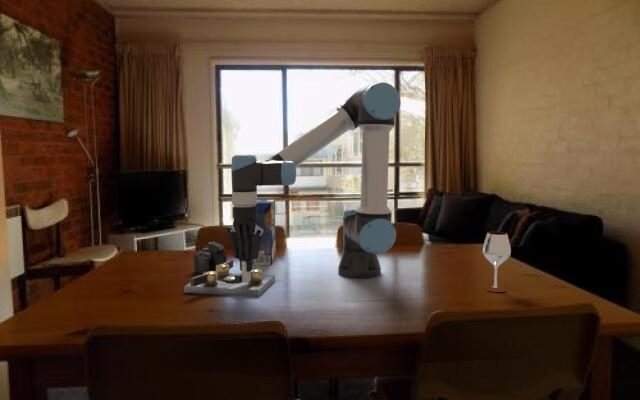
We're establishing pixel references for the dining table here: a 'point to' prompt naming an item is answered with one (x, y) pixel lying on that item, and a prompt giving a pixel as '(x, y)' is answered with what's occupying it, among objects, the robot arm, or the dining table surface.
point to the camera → (209, 257)
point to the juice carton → (266, 232)
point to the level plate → (233, 286)
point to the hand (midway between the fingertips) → (246, 281)
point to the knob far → (224, 268)
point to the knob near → (205, 279)
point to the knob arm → (255, 276)
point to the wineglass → (496, 250)
